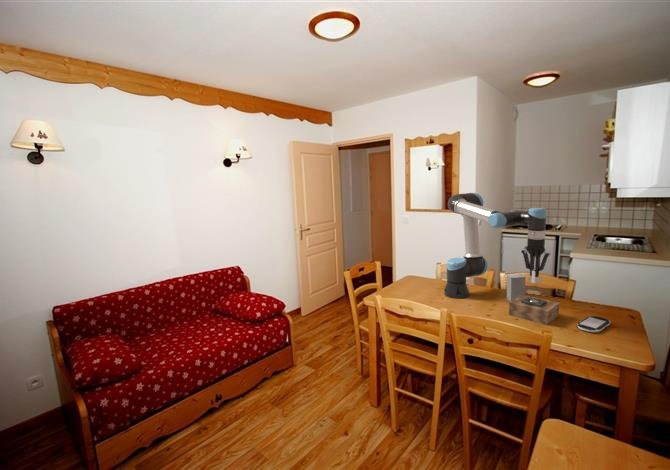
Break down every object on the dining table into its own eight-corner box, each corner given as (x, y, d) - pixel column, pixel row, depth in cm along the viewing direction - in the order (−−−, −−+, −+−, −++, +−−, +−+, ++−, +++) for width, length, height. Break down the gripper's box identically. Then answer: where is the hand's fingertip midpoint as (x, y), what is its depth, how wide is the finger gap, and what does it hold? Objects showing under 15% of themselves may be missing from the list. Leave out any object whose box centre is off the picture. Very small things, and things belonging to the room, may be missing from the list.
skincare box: (520, 298, 193) (520, 273, 191) (525, 302, 186) (526, 276, 184) (505, 298, 194) (506, 273, 191) (510, 302, 187) (511, 277, 184)
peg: (527, 314, 169) (528, 300, 168) (530, 312, 171) (531, 298, 170) (536, 317, 166) (536, 302, 165) (539, 314, 168) (539, 300, 167)
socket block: (508, 314, 171) (509, 300, 170) (521, 306, 180) (522, 293, 179) (547, 325, 157) (547, 309, 156) (558, 315, 166) (559, 301, 165)
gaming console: (596, 336, 144) (596, 331, 144) (573, 329, 152) (573, 324, 152) (613, 324, 154) (613, 319, 154) (590, 318, 162) (591, 313, 161)
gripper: (519, 238, 165) (517, 281, 169) (547, 240, 155) (545, 287, 159) (525, 235, 170) (523, 278, 174) (553, 238, 159) (550, 283, 163)
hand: (533, 282), depth 166 cm, fingers closed
